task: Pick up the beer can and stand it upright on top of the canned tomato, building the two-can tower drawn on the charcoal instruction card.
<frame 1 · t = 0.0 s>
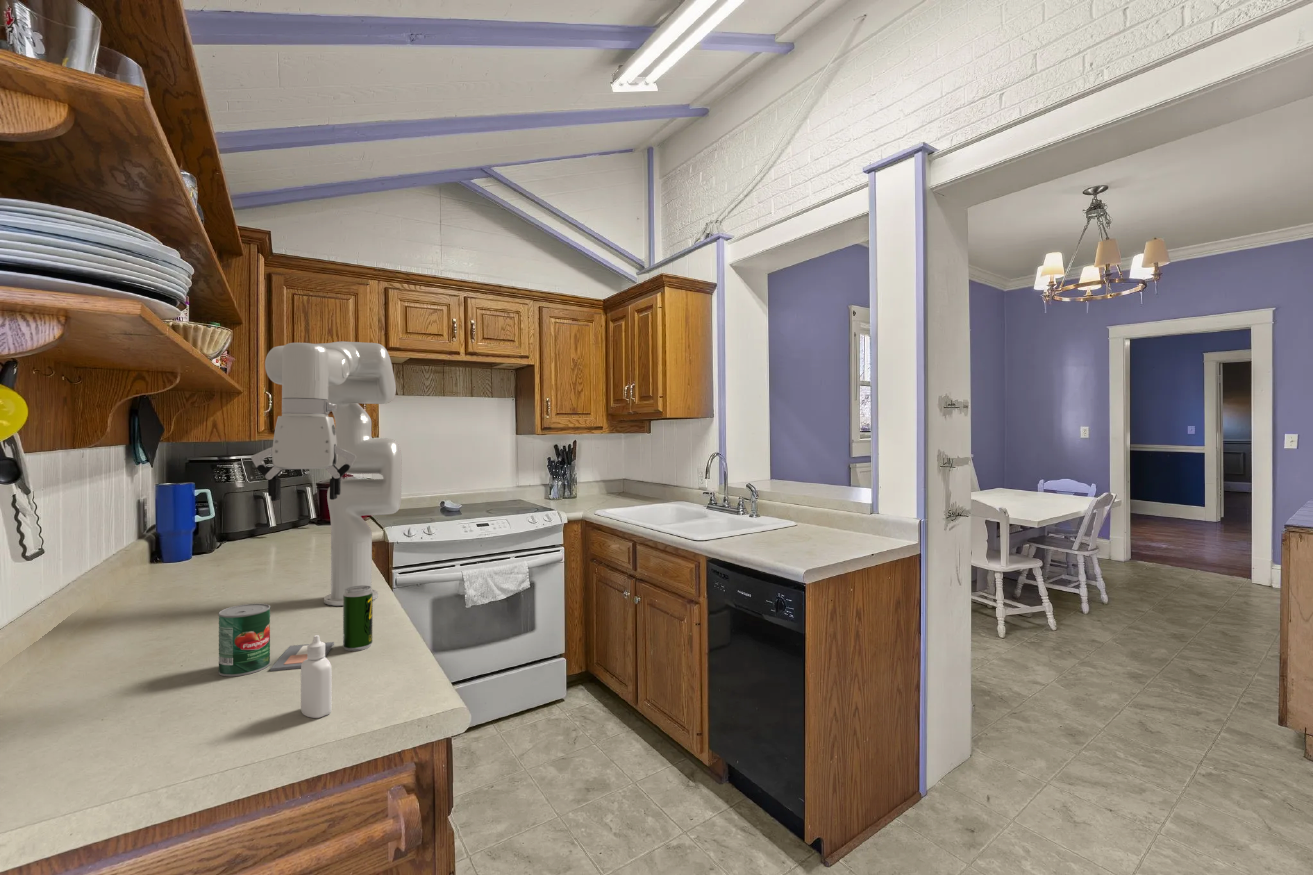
hand: (305, 499, 110), 31 cm above the counter, tool pointing down, fingers open, 9 cm apart
canned tomato: (244, 669, 108), on the counter
instruction card: (304, 656, 114), on the counter
eye dropper bottle: (316, 713, 92), on the counter
beer can: (357, 647, 120), on the counter
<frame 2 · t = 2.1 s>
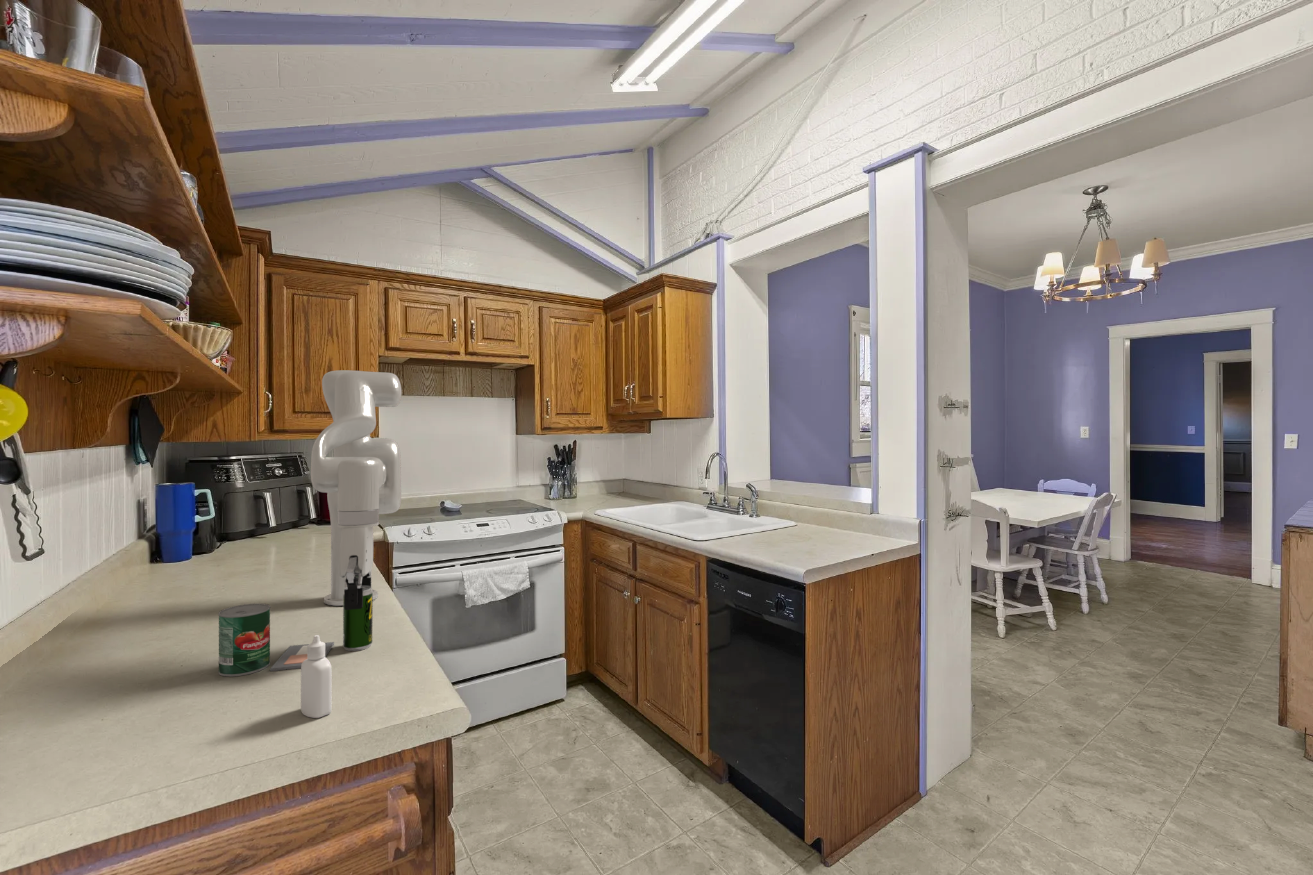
hand: (358, 602, 119), 9 cm above the counter, tool pointing down, fingers open, 9 cm apart
nothing on the counter moved.
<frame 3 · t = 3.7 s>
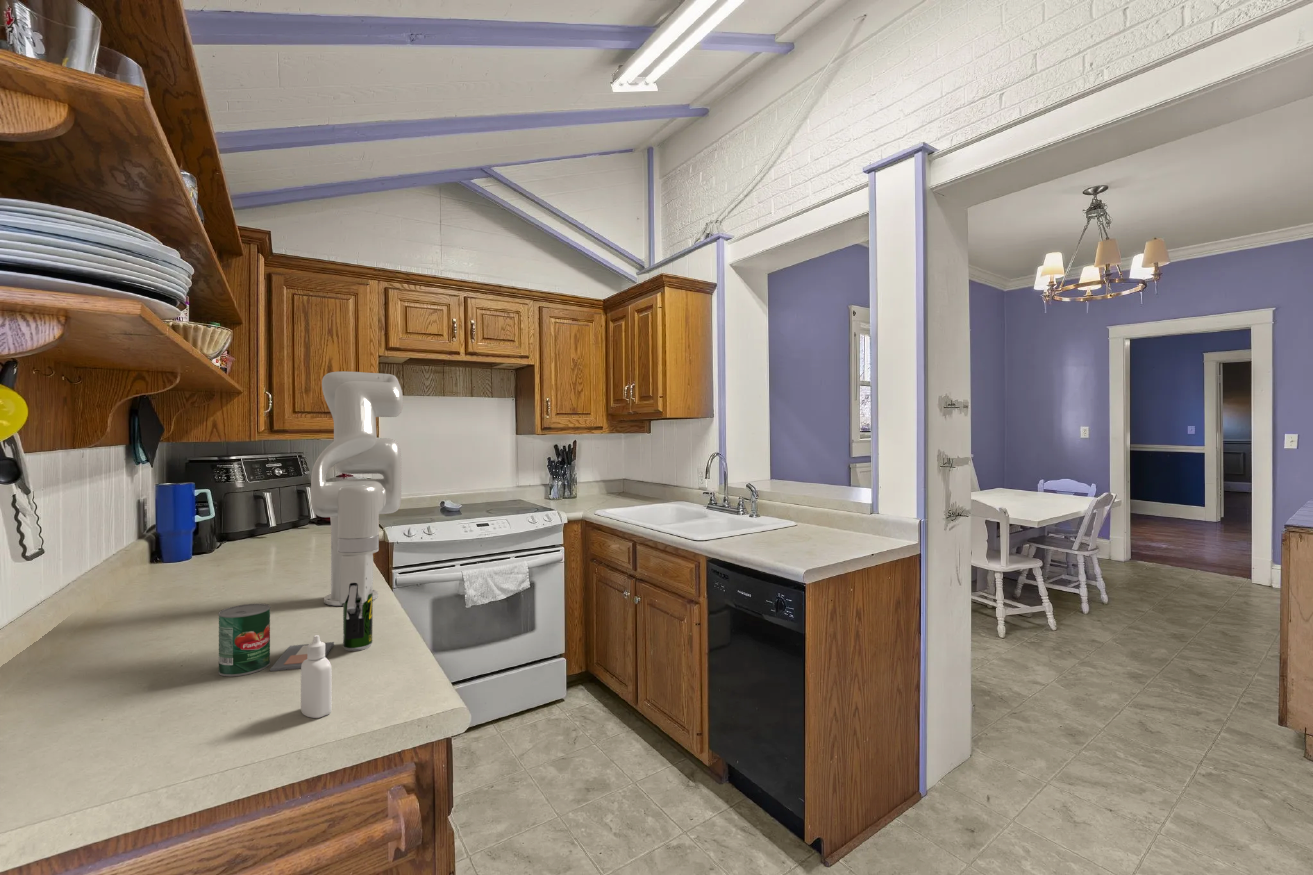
hand: (358, 632, 120), 3 cm above the counter, tool pointing down, fingers closed on beer can, 5 cm apart
beer can: (357, 647, 120), on the counter, touching gripper
everything else where it was.
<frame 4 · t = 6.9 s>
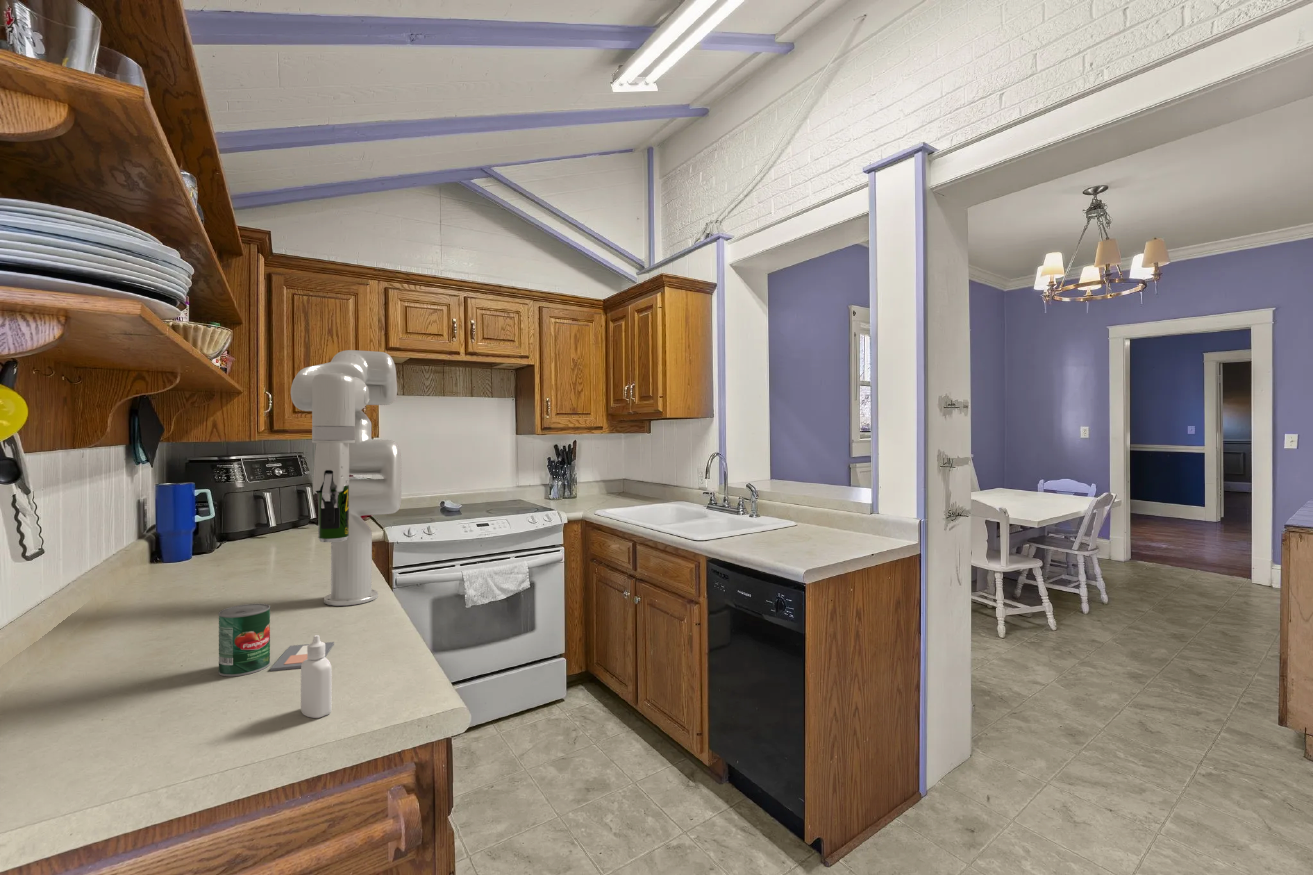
hand: (333, 525, 117), 25 cm above the counter, tool pointing down, fingers closed on beer can, 5 cm apart
beer can: (333, 541, 117), point 22 cm above the counter, touching gripper
everything else where it was.
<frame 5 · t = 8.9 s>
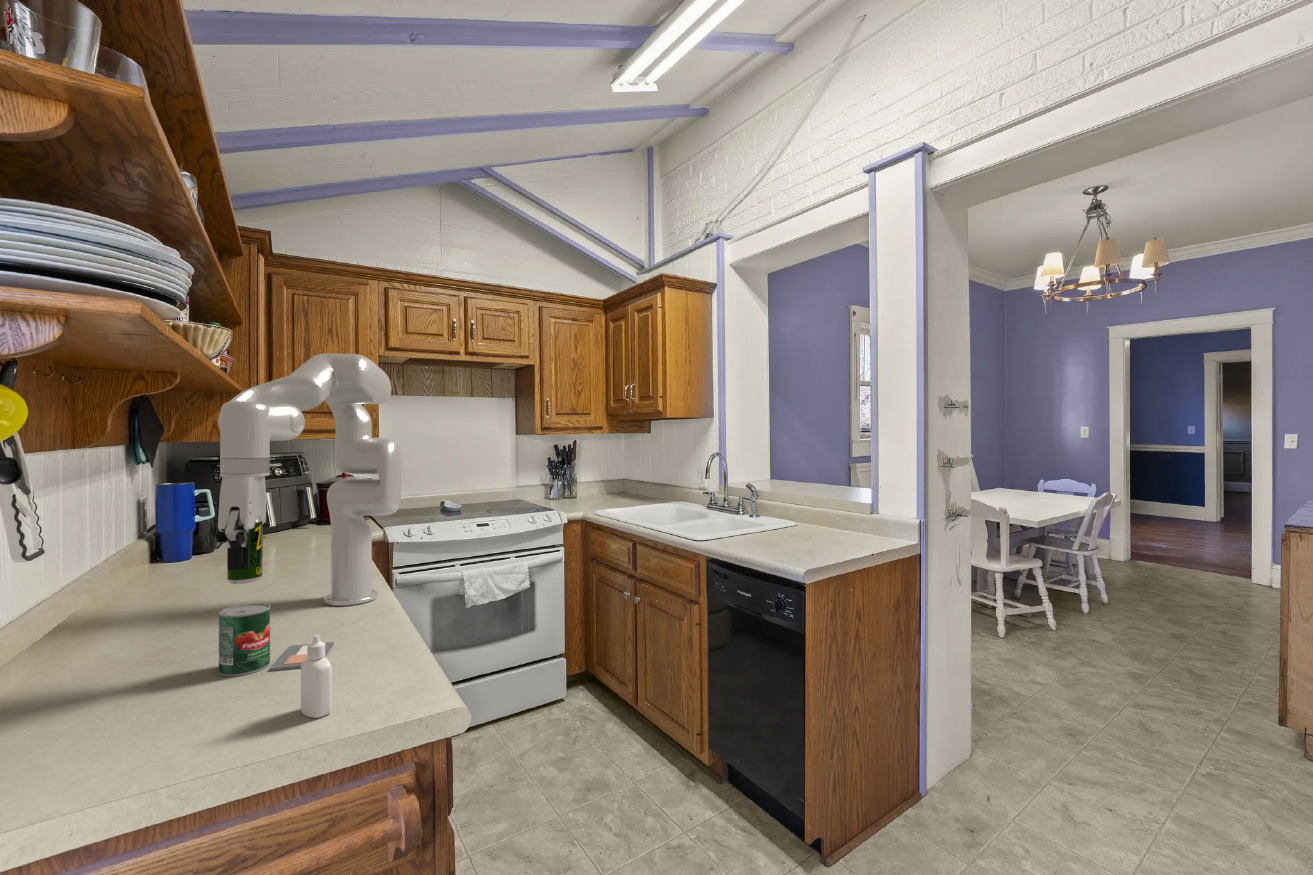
hand: (244, 564, 108), 19 cm above the counter, tool pointing down, fingers closed on beer can, 5 cm apart
beer can: (244, 581, 108), point 16 cm above the counter, touching gripper
everything else where it was.
when the fingers open (15 cm above the counter, at t = 10.4 s): beer can drops 1 cm, resting on canned tomato.
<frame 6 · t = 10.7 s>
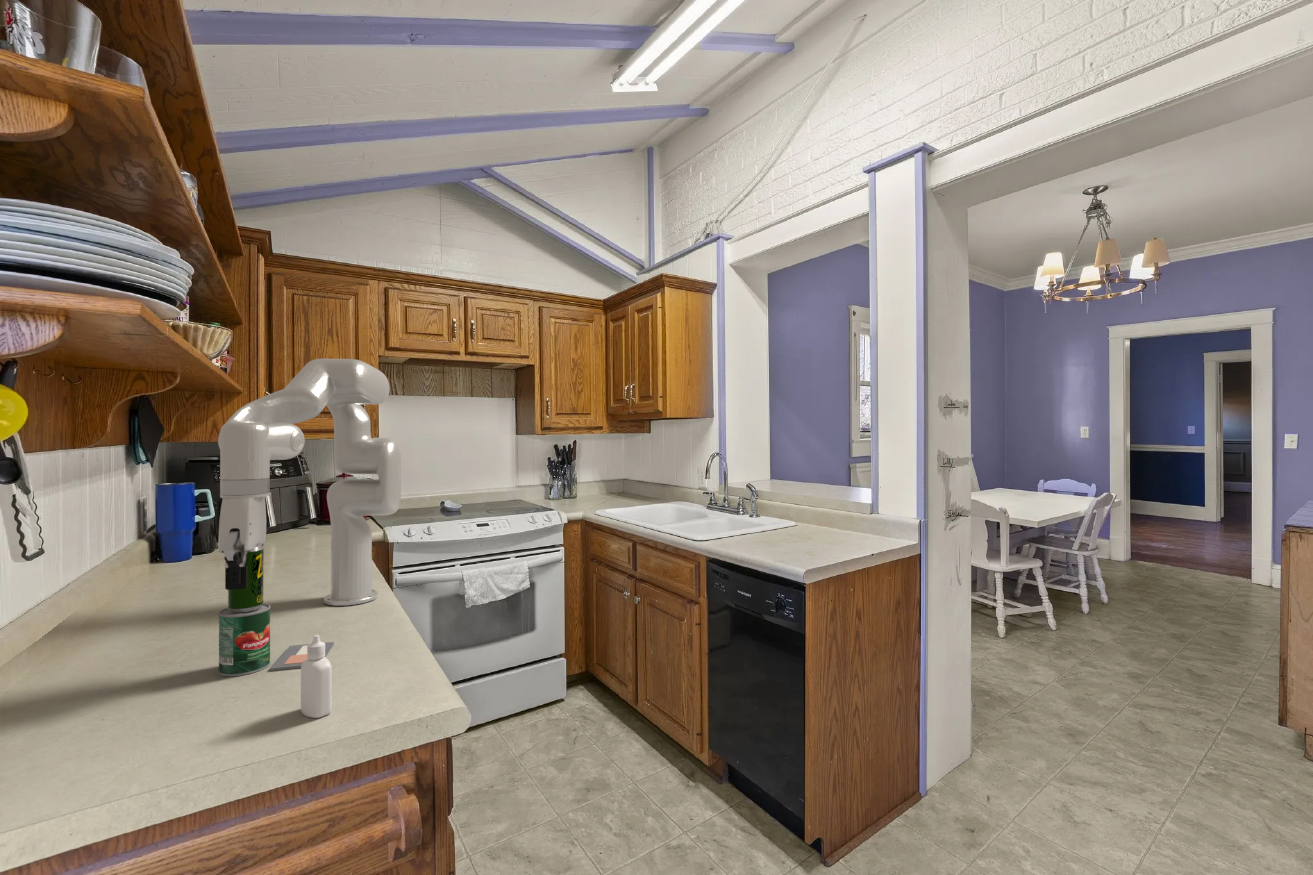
hand: (245, 582, 108), 16 cm above the counter, tool pointing down, fingers open, 7 cm apart
canned tomato: (244, 669, 108), on the counter, touching beer can
beer can: (245, 609, 109), point 11 cm above the counter, touching canned tomato
everything else where it was.
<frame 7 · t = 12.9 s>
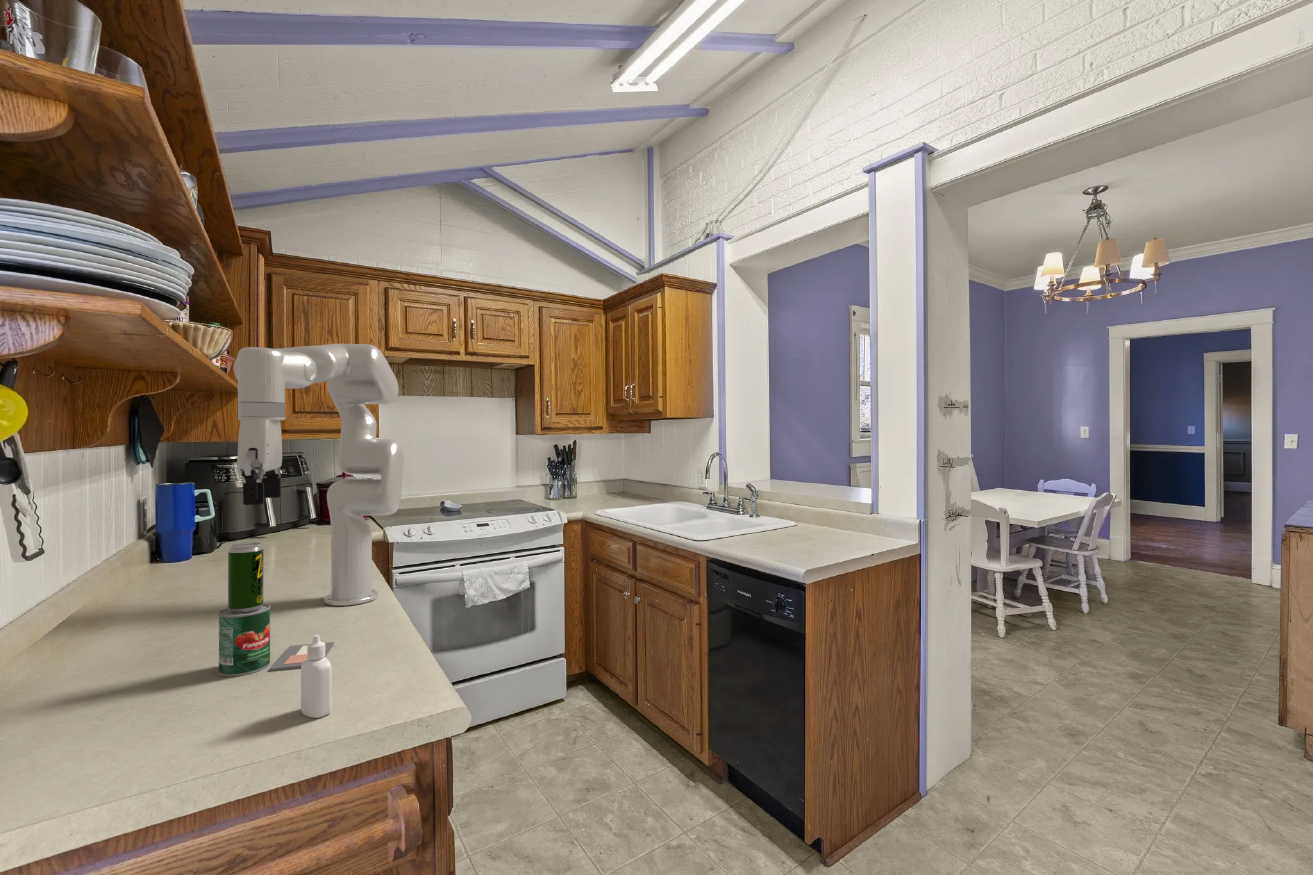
hand: (263, 500, 113), 31 cm above the counter, tool pointing down, fingers open, 9 cm apart
nothing on the counter moved.
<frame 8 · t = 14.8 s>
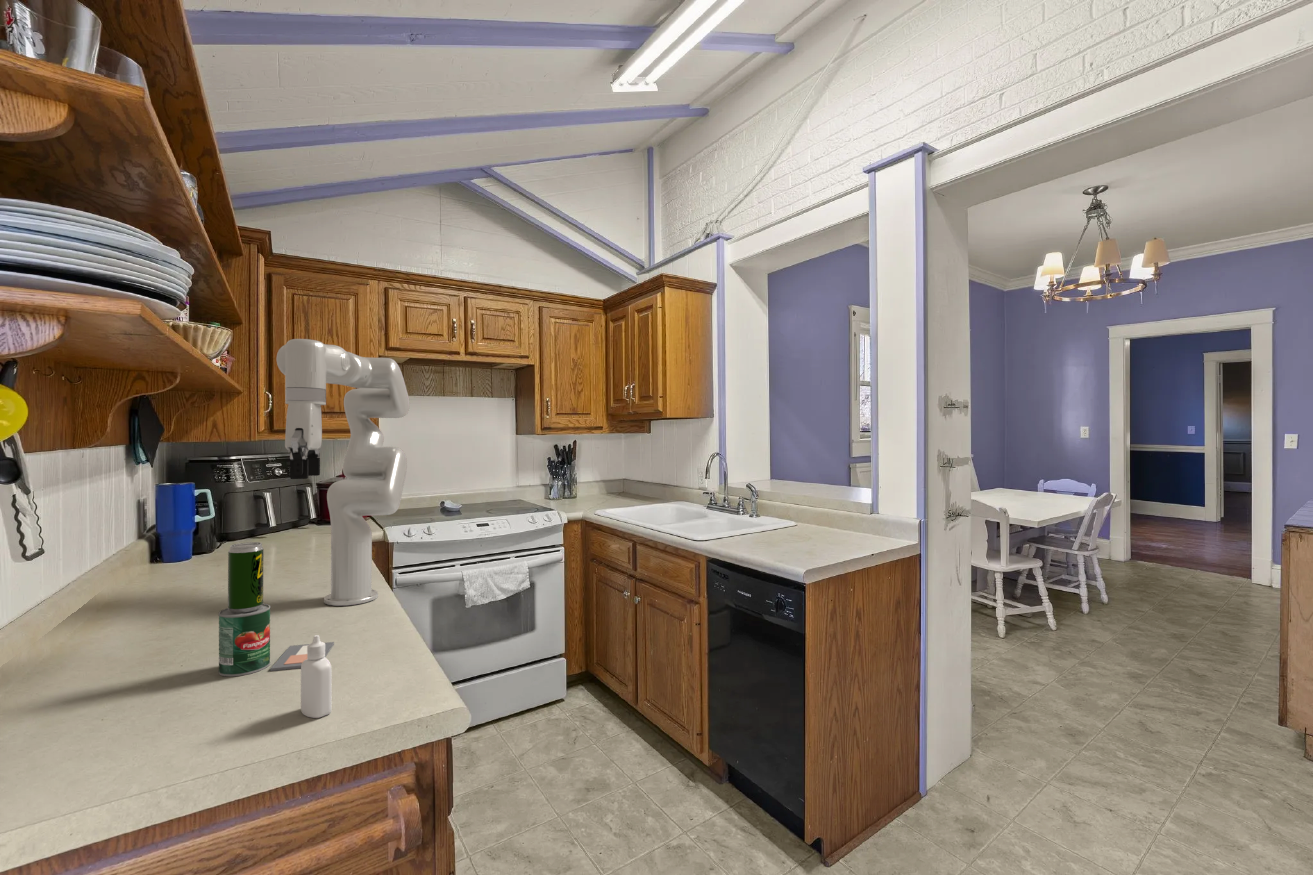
hand: (305, 477, 125), 34 cm above the counter, tool pointing down, fingers open, 9 cm apart
nothing on the counter moved.
at the end: beer can 0.2 cm off-centre on the canned tomato, point 11.0 cm above the canned tomato's base; beer can tilted 0°; the gripper is holding nothing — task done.
